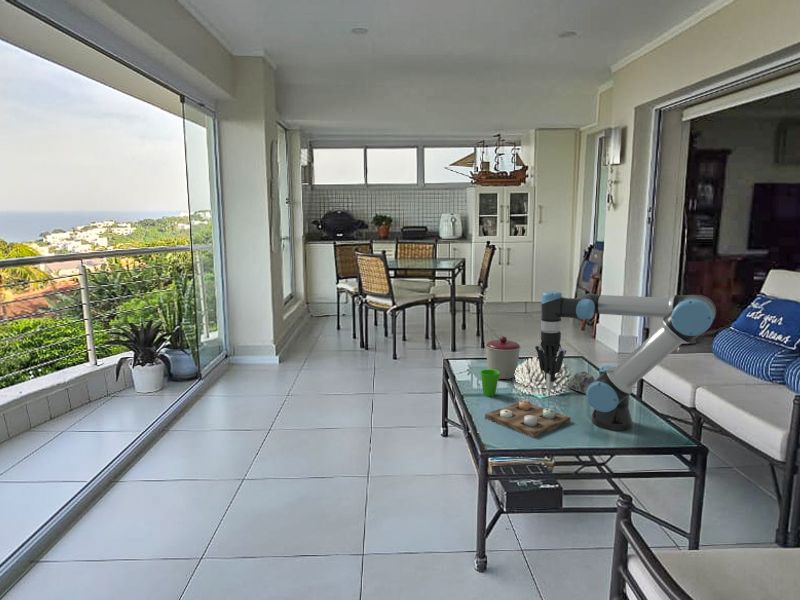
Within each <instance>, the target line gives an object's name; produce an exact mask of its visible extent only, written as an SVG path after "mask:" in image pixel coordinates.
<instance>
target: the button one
mask: <svg viewBox="0 0 800 600" xmlns="http://www.w3.org/2000/svg"><path fill="white" fill-rule="evenodd" d="M500 416H501V417H504V418H507V419H508V418H511V417H512V411H511V410H501V411H500Z"/></svg>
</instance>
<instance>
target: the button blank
mask: <svg viewBox="0 0 800 600" xmlns="http://www.w3.org/2000/svg"><path fill="white" fill-rule="evenodd" d="M524 425H525V426H527V427H530V428H534V427H536V426H537V417H535V416H532V415H526V416H524Z"/></svg>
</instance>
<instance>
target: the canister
mask: <svg viewBox="0 0 800 600" xmlns="http://www.w3.org/2000/svg"><path fill="white" fill-rule="evenodd" d="M484 346H485V348H486V351H485V353H486V363H487V369H493V370H497V371H499V372H500V374H499V377H498V380H500V379H507V380H512V379H513V378H515V376H514V373H515V370H516V368H517V369H518V363H519V357H520V351H521V349H522V345H521V344H519V343H518V342H517V341H512V340H510V339H509V340H508V338H507V337H506V336H503V335H502V336H500V337H499V339H494V340H490V341H487V342H486V343H485V344H484ZM516 371H517V370H516ZM511 378H512V379H511Z"/></svg>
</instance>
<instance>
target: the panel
mask: <svg viewBox="0 0 800 600" xmlns="http://www.w3.org/2000/svg"><path fill="white" fill-rule="evenodd" d="M543 409H545V408H544V407H541V406H538V405H535V404H532V403H531V410H530V411H522V410H520V409H519V401H518V402H515V403H513V404H510V405H507V406H504V407H500V408H499V409H495V410H492V411H490V412H486V413H485V414H484V419H485V418H486V419H485V420H487V419H488V421H490V420H491V422H492V421H493V423H495V422H496V423H495V424H497V423H498V424H497V425H500V424H501V426H502V425H503V427H505V426H506V427H505V428H507V427H508V429H510V428H511V429H510V430H512V431H515V430H516V431H515V432H518V433H520V432H521V434H523V433H524V434H523V435H525V434H526V436H528V435H529V436H528V437H530V436H531V438H533V437H534V438H536V437H538V435H539V436H540V434H541V435H544V434H545V433H548V432H550V431H553V430H555V429H557V428H560V427H562V426H564V425H566V424H569V423H570V422H571V416H567V415H564V414H562V413H558V412H557V411H555V419H553V420H548V419H545V418H543ZM501 410H511V411H512V417H511V418H508V419H507V418H504V417H501V416H500V411H501ZM526 415H532V416H535V417H537V426H536V427H527V426H525V425H524V416H526ZM535 436H536V437H535Z"/></svg>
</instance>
